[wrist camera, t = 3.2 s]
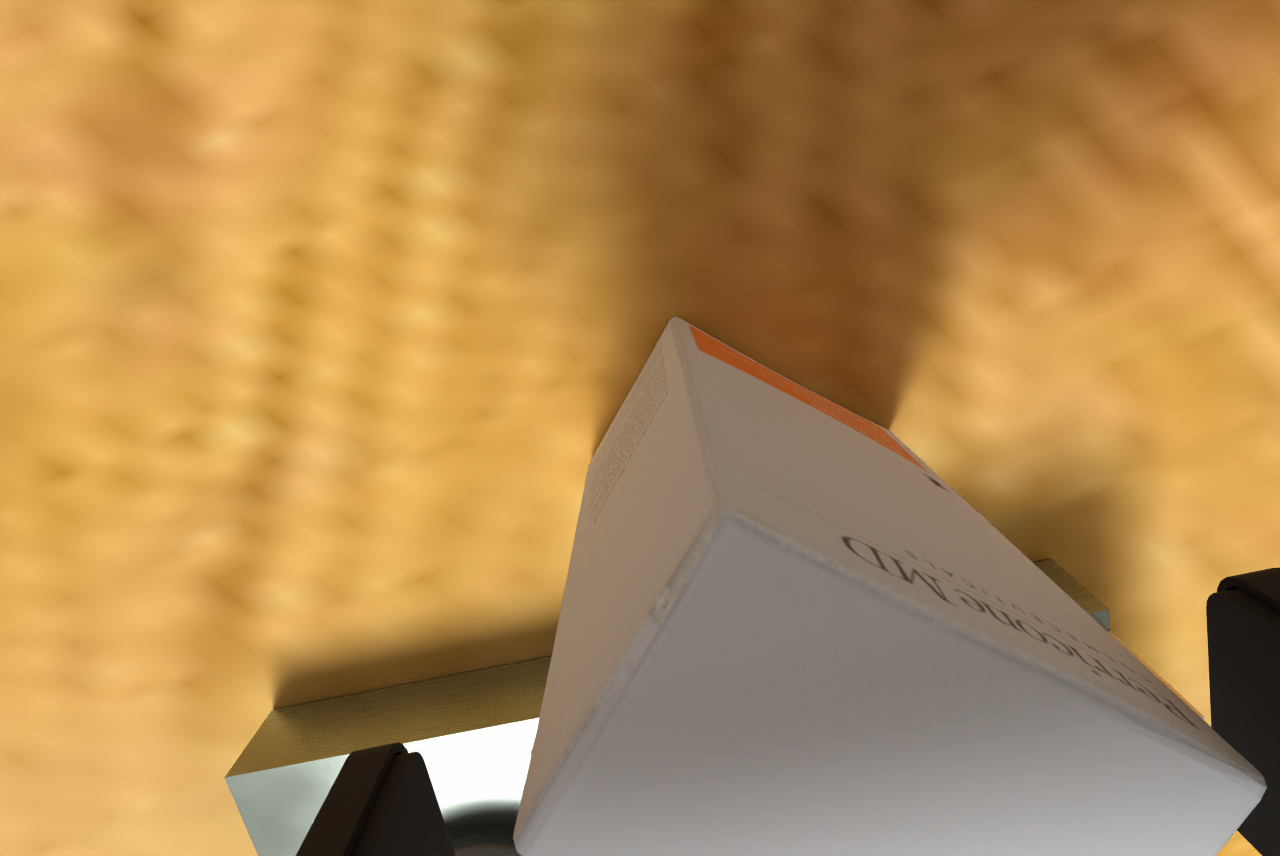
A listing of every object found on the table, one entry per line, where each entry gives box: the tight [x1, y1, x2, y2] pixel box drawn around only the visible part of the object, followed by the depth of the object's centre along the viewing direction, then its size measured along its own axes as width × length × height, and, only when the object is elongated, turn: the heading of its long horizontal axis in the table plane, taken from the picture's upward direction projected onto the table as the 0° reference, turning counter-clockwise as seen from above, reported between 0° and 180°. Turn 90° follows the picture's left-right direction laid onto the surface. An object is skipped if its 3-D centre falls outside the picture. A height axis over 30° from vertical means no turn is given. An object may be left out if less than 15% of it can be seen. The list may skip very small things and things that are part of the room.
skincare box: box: [513, 317, 1267, 856], centre depth 13 cm, size 6×4×12 cm
